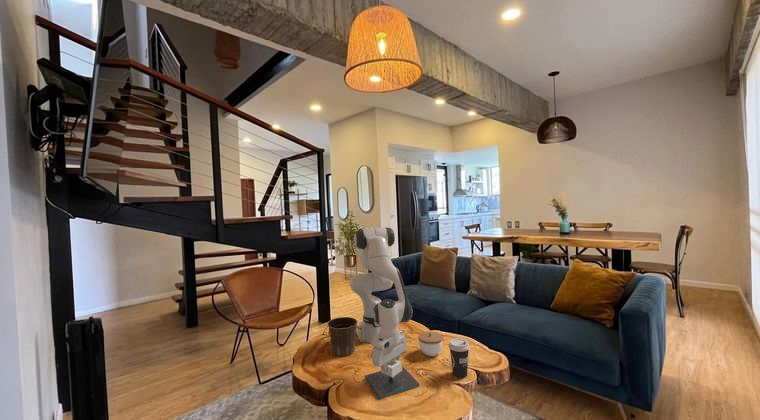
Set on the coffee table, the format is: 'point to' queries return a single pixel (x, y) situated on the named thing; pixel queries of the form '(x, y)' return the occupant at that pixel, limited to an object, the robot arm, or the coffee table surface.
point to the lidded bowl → (430, 343)
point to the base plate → (391, 383)
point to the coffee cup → (459, 357)
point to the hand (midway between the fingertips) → (391, 367)
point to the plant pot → (342, 335)
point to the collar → (393, 367)
